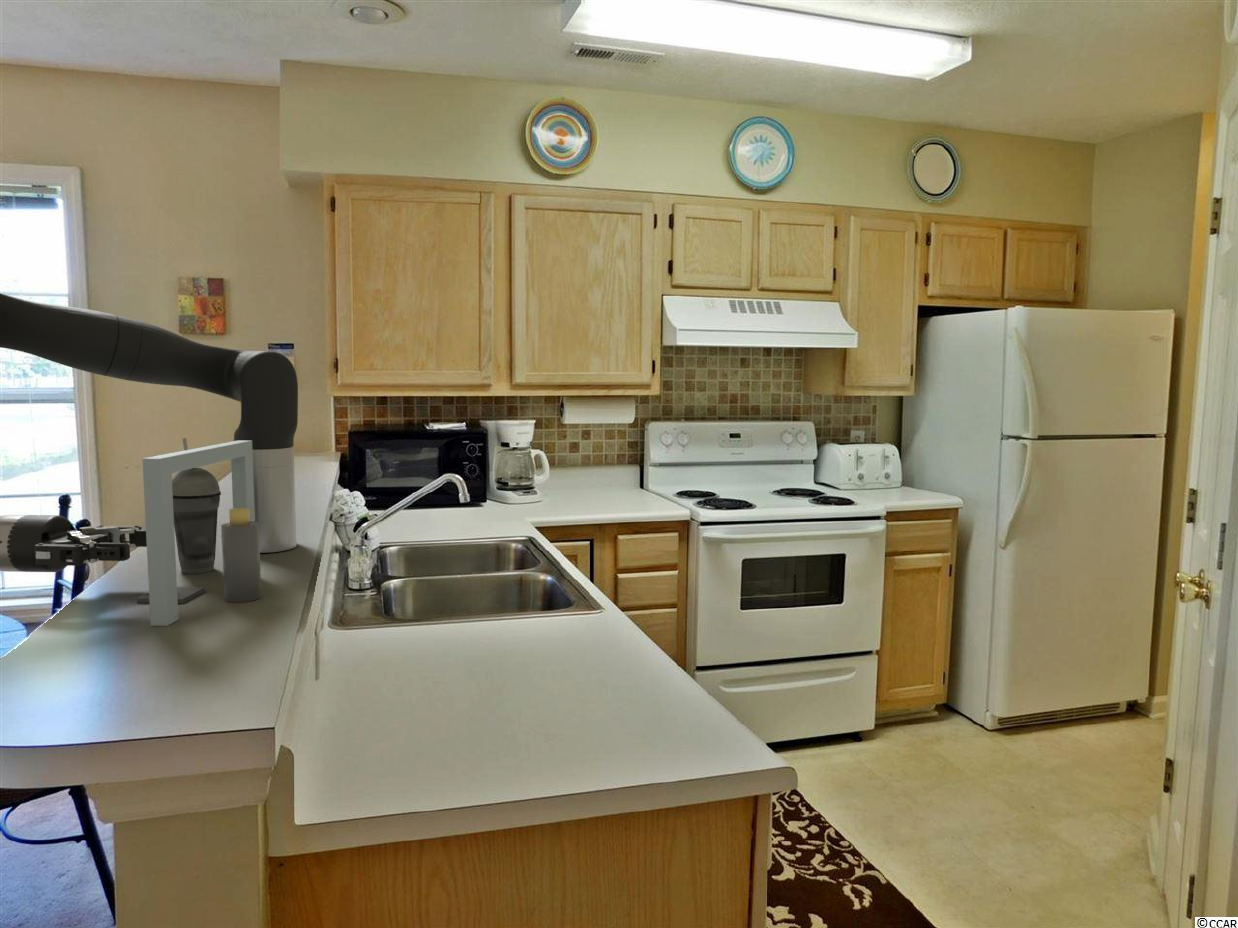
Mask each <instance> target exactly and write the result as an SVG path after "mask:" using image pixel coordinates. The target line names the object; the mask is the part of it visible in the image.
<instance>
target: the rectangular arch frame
mask: <svg viewBox="0 0 1238 928" xmlns="http://www.w3.org/2000/svg"><path fill="white" fill-rule="evenodd" d="M229 460H230V463H231V489H232V490H231V491H232V494H231V495H232V509H234V508H249V517H250V521H253V522H255V510H254V482H253V453H252V441H247V440H238V441H234V440H233V441H232V440H231V441H227V442H222V443H218V444H212V445H207V446H202V447H196V448H191V449H188V450H185V451H184V450H180V451H175V452H170V453H165V454H164V453H163V454H159V455H155V456H147V457H143V458H142V475H143V476H142V479H143V494H144V496H143V497H144V498H143V501H144V515H145V516H144V517H145V519H144V521H145V530H146V541H147V547H146V557H147V558H146V559H147V571H148V572H147V575H148V576H147V577H148V593H149V601H150V603H149V615H150V620H149V621H150V627H151V626H153V627H154V626H158V627H160V626H163V627H167V626H170V625H171V624H173V623H175V622H177V621H178V620H179V605H178V604H179V603H178V601H177V587H178V583H177V581H178V580H177V565H176V564H177V561H176V535H175V528H174V514H173V492H172V479H173V476H172V475H173V474H174V473H179V472H180V471H183V470H187V469H192V468H201V467H204V466H208V465H213V464H217V463H221V462H225V461H229Z"/></svg>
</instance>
